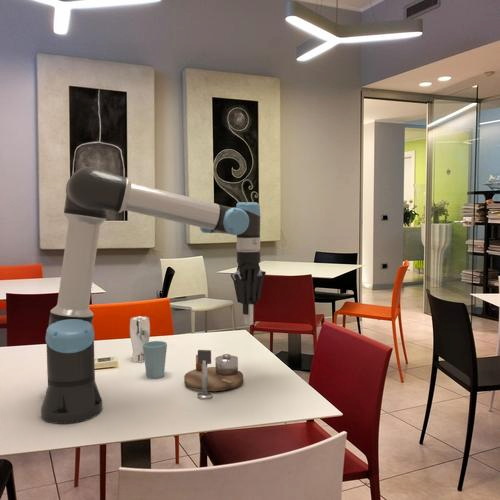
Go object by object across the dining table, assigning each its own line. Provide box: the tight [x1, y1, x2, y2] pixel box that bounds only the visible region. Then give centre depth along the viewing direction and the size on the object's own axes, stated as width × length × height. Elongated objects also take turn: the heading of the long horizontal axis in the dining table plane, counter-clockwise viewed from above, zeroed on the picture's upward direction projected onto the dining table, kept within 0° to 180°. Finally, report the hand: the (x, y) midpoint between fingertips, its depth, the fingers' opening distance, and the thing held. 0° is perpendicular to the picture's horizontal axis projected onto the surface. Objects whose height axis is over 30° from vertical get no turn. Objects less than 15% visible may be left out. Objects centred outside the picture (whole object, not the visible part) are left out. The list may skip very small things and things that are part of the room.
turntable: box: [183, 354, 244, 392], centre depth 158 cm, size 18×18×6 cm
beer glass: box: [129, 316, 151, 363], centre depth 183 cm, size 7×7×15 cm
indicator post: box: [196, 349, 213, 401], centre depth 146 cm, size 4×4×13 cm
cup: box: [143, 340, 168, 379], centre depth 165 cm, size 8×8×10 cm
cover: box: [214, 353, 239, 376], centre depth 161 cm, size 7×7×6 cm
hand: (248, 324), depth 166 cm, fingers closed
